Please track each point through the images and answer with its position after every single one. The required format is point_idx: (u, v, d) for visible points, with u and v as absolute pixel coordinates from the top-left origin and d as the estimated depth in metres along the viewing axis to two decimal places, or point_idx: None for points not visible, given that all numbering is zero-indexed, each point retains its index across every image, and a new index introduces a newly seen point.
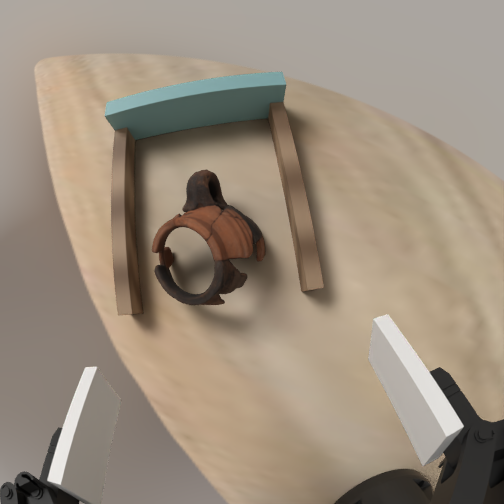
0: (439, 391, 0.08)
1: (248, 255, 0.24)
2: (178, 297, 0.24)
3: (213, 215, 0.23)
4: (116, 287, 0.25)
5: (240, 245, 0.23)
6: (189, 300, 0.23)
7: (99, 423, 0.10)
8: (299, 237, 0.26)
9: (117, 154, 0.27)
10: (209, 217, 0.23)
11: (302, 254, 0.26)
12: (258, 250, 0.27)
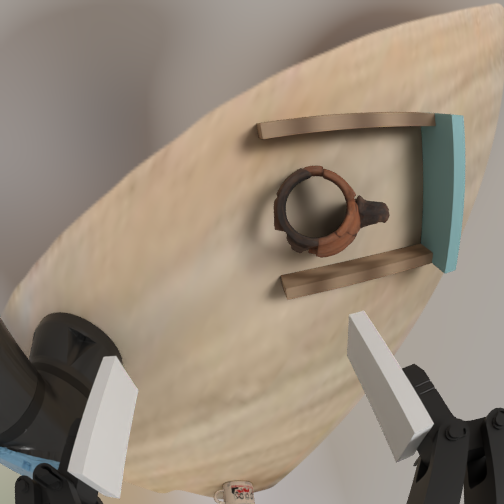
0: (410, 387, 0.08)
1: None
2: (282, 196, 0.26)
3: (353, 231, 0.26)
4: (288, 121, 0.24)
5: (327, 252, 0.27)
6: (281, 208, 0.26)
7: (118, 412, 0.11)
8: (327, 280, 0.32)
9: (413, 117, 0.25)
10: (352, 228, 0.26)
11: (313, 283, 0.32)
12: None
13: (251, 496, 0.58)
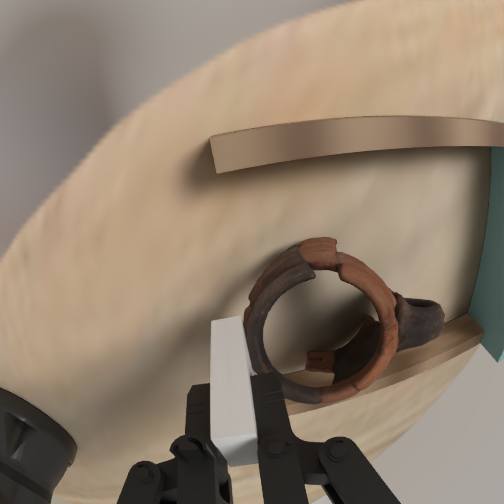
0: (250, 393, 0.10)
1: None
2: (255, 317, 0.13)
3: None
4: (274, 130, 0.11)
5: None
6: (253, 341, 0.13)
7: None
8: None
9: (495, 131, 0.11)
10: None
11: None
12: (321, 370, 0.18)
13: None
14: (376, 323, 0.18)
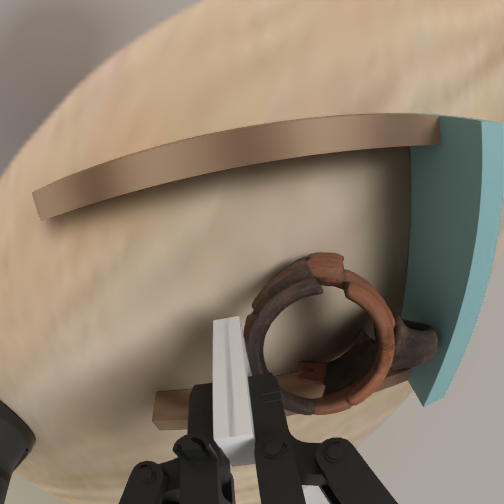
0: (248, 393, 0.10)
1: None
2: (258, 326, 0.13)
3: None
4: (72, 179, 0.11)
5: None
6: (254, 348, 0.13)
7: None
8: None
9: (386, 127, 0.11)
10: None
11: None
12: (311, 381, 0.18)
13: None
14: (370, 341, 0.18)
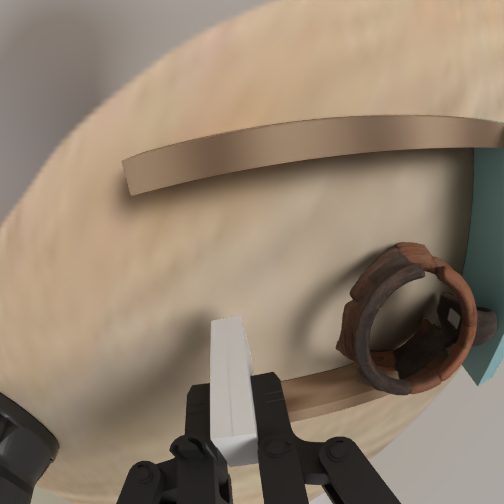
0: (250, 393, 0.10)
1: None
2: (369, 311, 0.13)
3: None
4: (184, 147, 0.10)
5: None
6: (364, 334, 0.13)
7: None
8: (289, 412, 0.18)
9: (472, 130, 0.10)
10: None
11: None
12: (385, 368, 0.18)
13: None
14: (434, 326, 0.18)
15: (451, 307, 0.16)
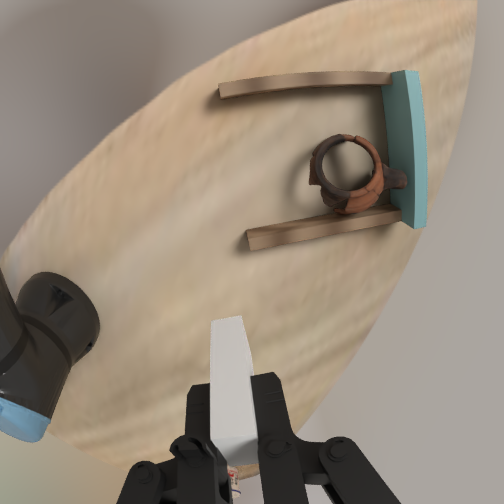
0: (250, 393, 0.10)
1: (346, 210, 0.31)
2: (320, 153, 0.29)
3: (377, 190, 0.29)
4: (244, 80, 0.26)
5: (355, 207, 0.30)
6: (318, 163, 0.29)
7: None
8: (289, 231, 0.33)
9: (367, 76, 0.26)
10: (377, 187, 0.29)
11: (275, 234, 0.33)
12: (343, 211, 0.34)
13: (236, 481, 0.60)
14: None
15: None
